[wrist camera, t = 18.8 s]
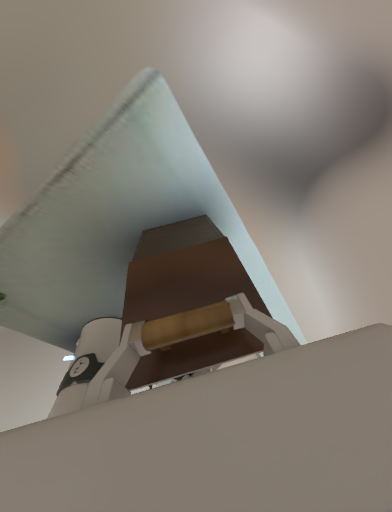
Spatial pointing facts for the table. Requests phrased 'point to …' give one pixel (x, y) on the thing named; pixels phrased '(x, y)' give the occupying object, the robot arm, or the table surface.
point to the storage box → (176, 236)
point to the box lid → (188, 311)
